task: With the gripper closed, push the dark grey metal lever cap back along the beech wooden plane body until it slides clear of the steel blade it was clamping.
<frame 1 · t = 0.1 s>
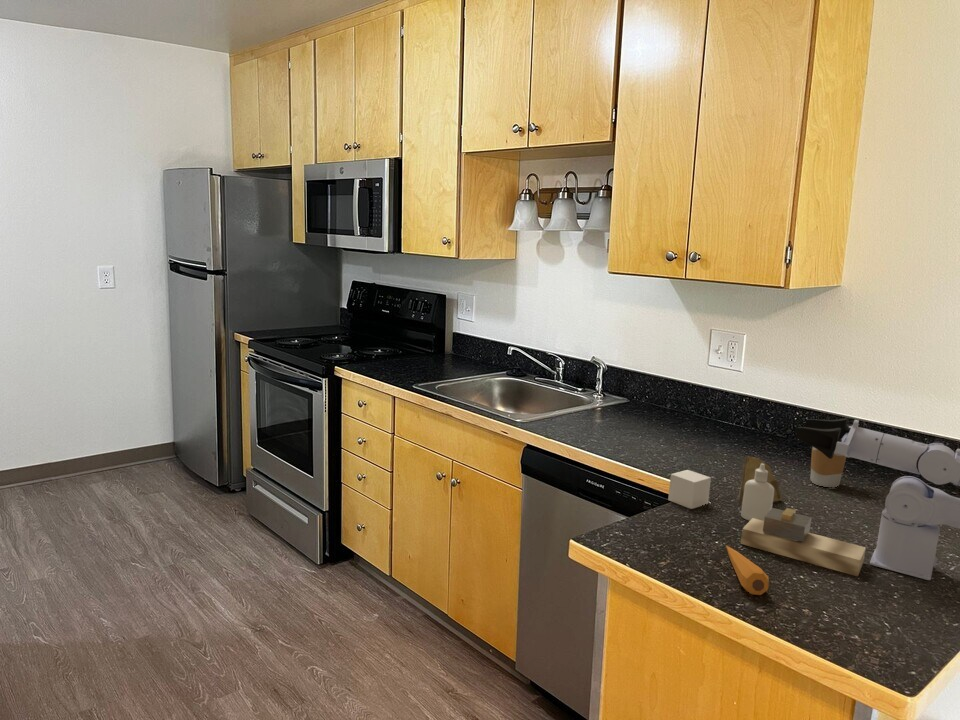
hand: (801, 428, 141), 22 cm above the counter, tool horizontal, fingers open, 7 cm apart
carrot: (741, 571, 128), on the counter
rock: (759, 502, 162), on the counter
coffee cup: (824, 485, 177), on the counter
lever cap: (787, 521, 137), point 5 cm above the counter, slide at 0.0 cm
eye dropper bottle: (755, 520, 152), on the counter
white cube: (687, 503, 160), on the counter
plane body: (800, 553, 136), on the counter
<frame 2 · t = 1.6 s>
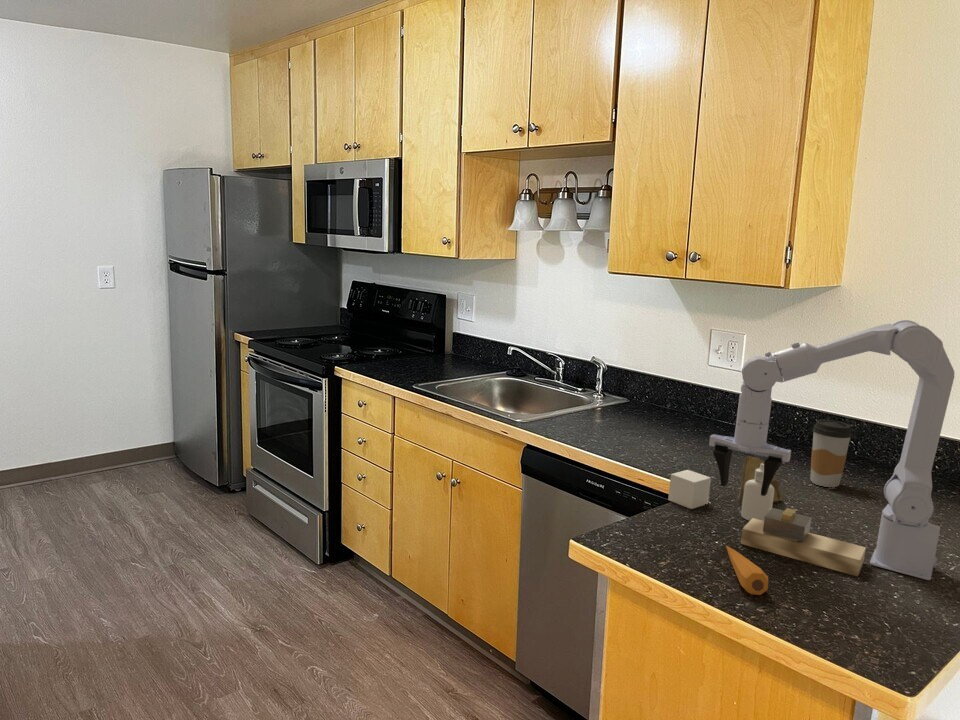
hand: (743, 489, 141), 9 cm above the counter, tool pointing down, fingers open, 7 cm apart
nothing on the counter moved.
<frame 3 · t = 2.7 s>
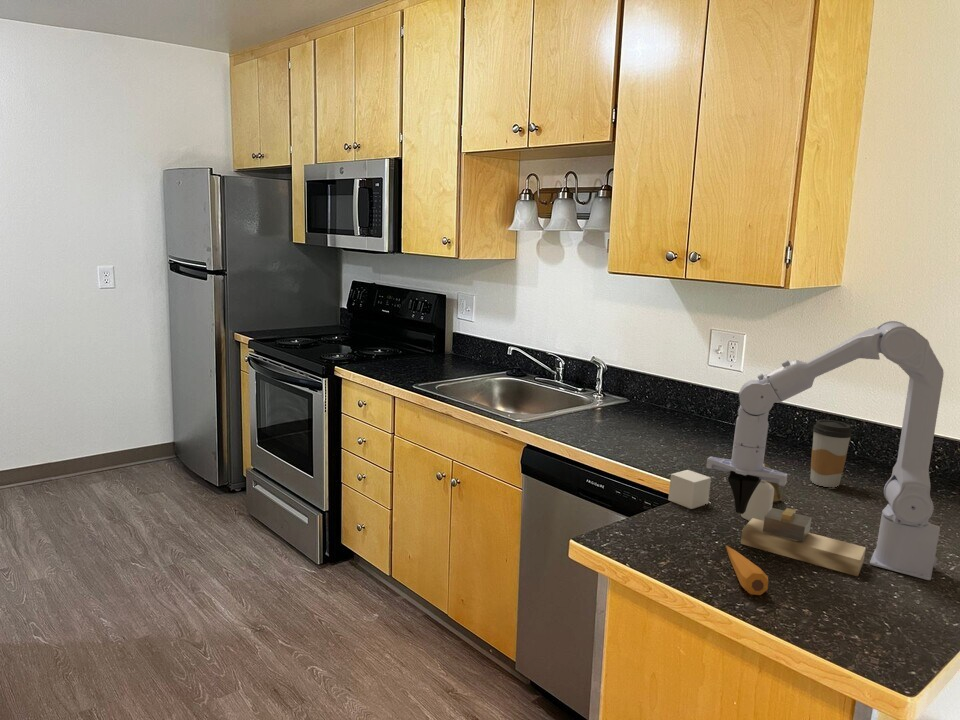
hand: (740, 511, 142), 5 cm above the counter, tool pointing down, fingers closed
nothing on the counter moved.
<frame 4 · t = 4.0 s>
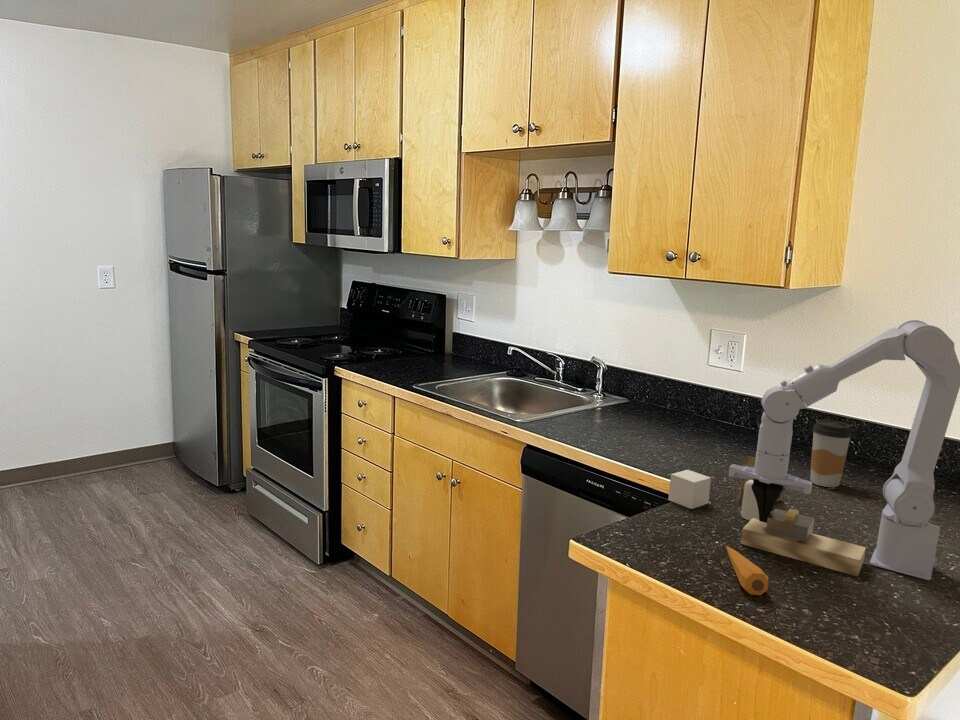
hand: (764, 520, 140), 4 cm above the counter, tool pointing down, fingers closed
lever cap: (790, 522, 137), point 5 cm above the counter, slide at 0.5 cm, touching gripper
everything else where it was.
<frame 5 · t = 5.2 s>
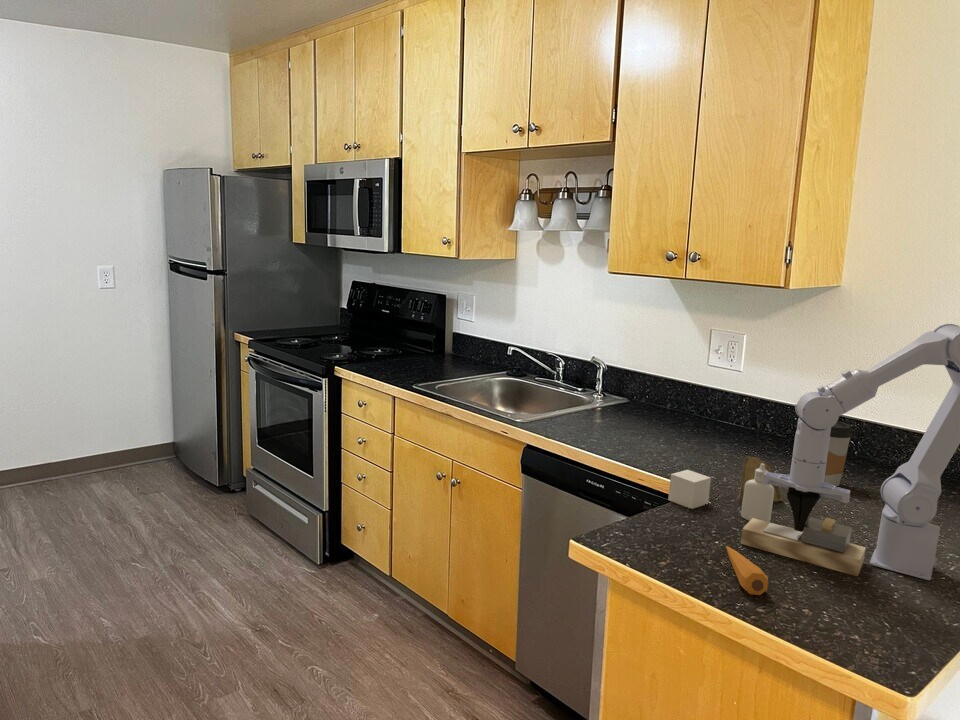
hand: (799, 529, 136), 4 cm above the counter, tool pointing down, fingers closed
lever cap: (827, 531, 133), point 5 cm above the counter, slide at 6.8 cm, touching gripper
everything else where it was.
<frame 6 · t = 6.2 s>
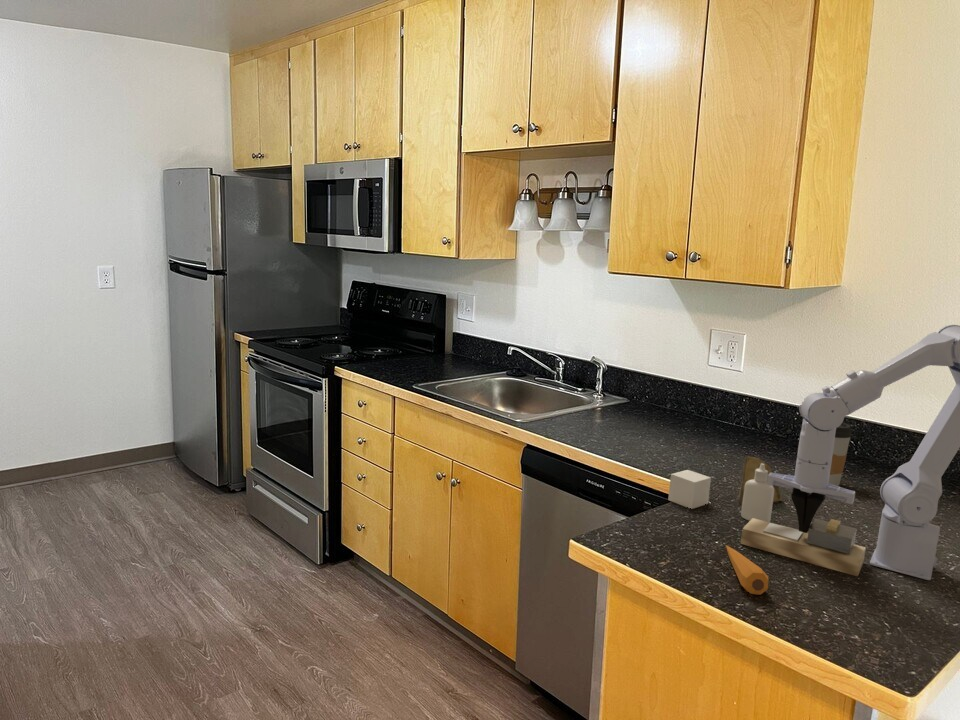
hand: (803, 530, 136), 4 cm above the counter, tool pointing down, fingers closed
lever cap: (832, 533, 133), point 5 cm above the counter, slide at 7.7 cm, touching gripper
everything else where it was.
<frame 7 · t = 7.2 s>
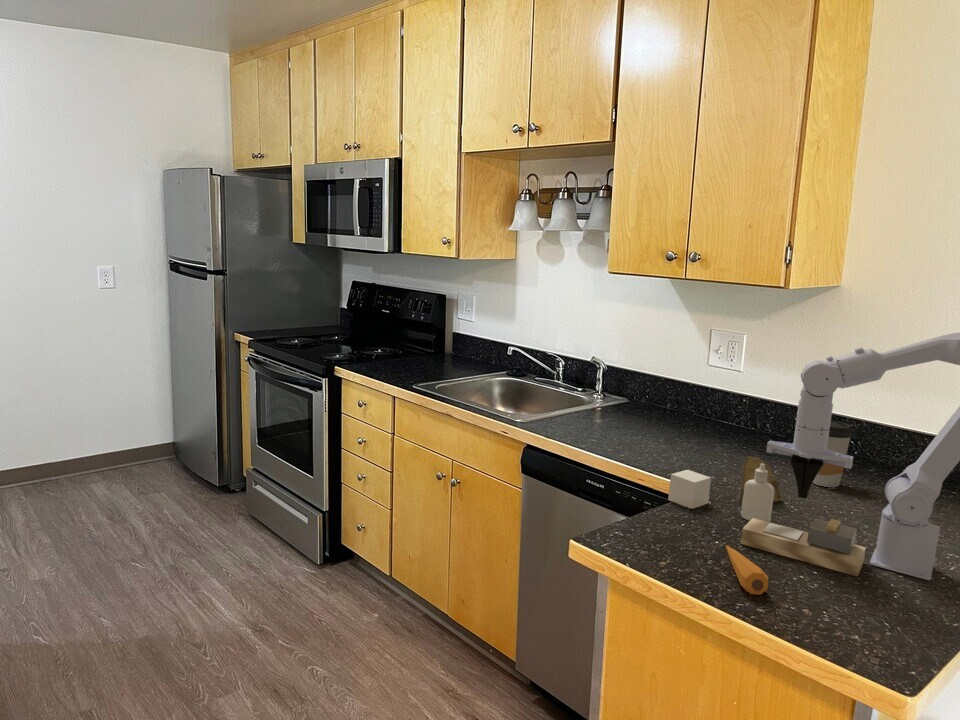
hand: (802, 496, 138), 10 cm above the counter, tool pointing down, fingers closed
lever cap: (832, 533, 133), point 5 cm above the counter, slide at 7.7 cm
everything else where it was.
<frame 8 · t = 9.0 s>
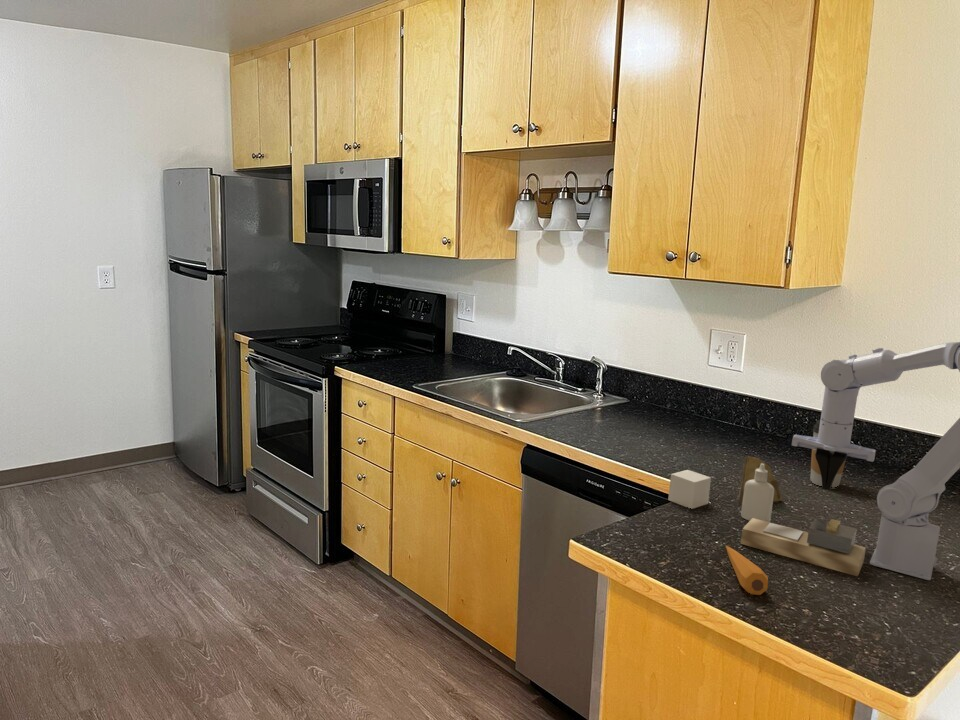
hand: (826, 488, 145), 9 cm above the counter, tool pointing down, fingers closed
nothing on the counter moved.
at the end: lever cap slide at 7.7 cm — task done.
